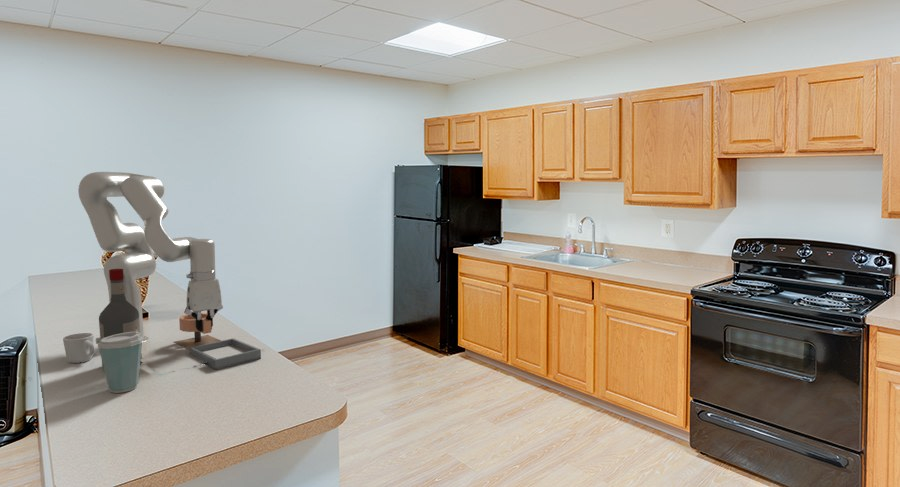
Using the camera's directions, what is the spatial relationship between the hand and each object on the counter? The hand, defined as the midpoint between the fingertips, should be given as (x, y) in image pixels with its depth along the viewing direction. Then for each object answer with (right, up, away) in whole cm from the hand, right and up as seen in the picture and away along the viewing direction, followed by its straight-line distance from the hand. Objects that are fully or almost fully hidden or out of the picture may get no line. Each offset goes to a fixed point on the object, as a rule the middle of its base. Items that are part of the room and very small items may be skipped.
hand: (204, 329), depth 183 cm
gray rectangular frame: (+10, -8, -8) cm, 15 cm away
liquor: (-18, -9, -16) cm, 26 cm away
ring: (-3, 0, +3) cm, 5 cm away
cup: (-33, -8, -12) cm, 36 cm away
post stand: (-5, -6, +5) cm, 10 cm away
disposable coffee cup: (-6, -11, -35) cm, 37 cm away
